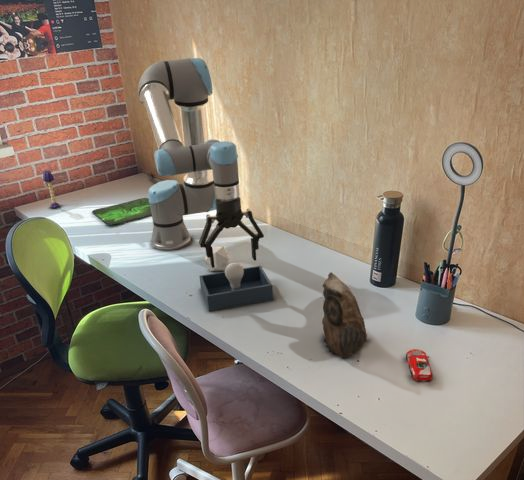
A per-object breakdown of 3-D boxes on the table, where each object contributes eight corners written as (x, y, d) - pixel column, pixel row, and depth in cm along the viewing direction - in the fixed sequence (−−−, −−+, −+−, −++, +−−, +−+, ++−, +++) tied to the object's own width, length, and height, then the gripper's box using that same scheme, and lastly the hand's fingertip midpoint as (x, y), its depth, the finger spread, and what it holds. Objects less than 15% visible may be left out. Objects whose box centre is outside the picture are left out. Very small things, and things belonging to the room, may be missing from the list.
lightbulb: (248, 290, 188) (245, 260, 182) (241, 299, 184) (239, 268, 177) (231, 288, 190) (228, 258, 184) (224, 296, 186) (221, 266, 179)
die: (220, 278, 198) (234, 253, 196) (198, 266, 197) (211, 240, 195) (222, 275, 207) (235, 251, 204) (200, 263, 206) (213, 239, 203)
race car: (404, 355, 156) (405, 343, 153) (424, 354, 155) (425, 342, 153) (411, 385, 145) (413, 372, 143) (433, 385, 145) (435, 372, 142)
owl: (344, 362, 154) (346, 298, 143) (307, 346, 161) (306, 284, 150) (369, 341, 162) (373, 279, 150) (332, 326, 169) (334, 266, 157)
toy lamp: (60, 204, 265) (51, 168, 255) (61, 207, 261) (52, 171, 252) (50, 206, 263) (40, 170, 254) (51, 209, 260) (41, 173, 250)
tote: (201, 290, 191) (199, 275, 188) (261, 279, 195) (260, 265, 192) (209, 311, 180) (207, 296, 176) (273, 299, 183) (272, 284, 180)
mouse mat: (146, 197, 266) (145, 195, 265) (167, 211, 251) (166, 209, 250) (90, 212, 254) (90, 210, 253) (109, 227, 239) (108, 225, 238)
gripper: (188, 207, 163) (196, 273, 175) (271, 195, 167) (274, 260, 179) (184, 199, 169) (193, 263, 181) (264, 187, 173) (268, 251, 185)
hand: (233, 262), depth 180 cm, fingers open, 13 cm apart
